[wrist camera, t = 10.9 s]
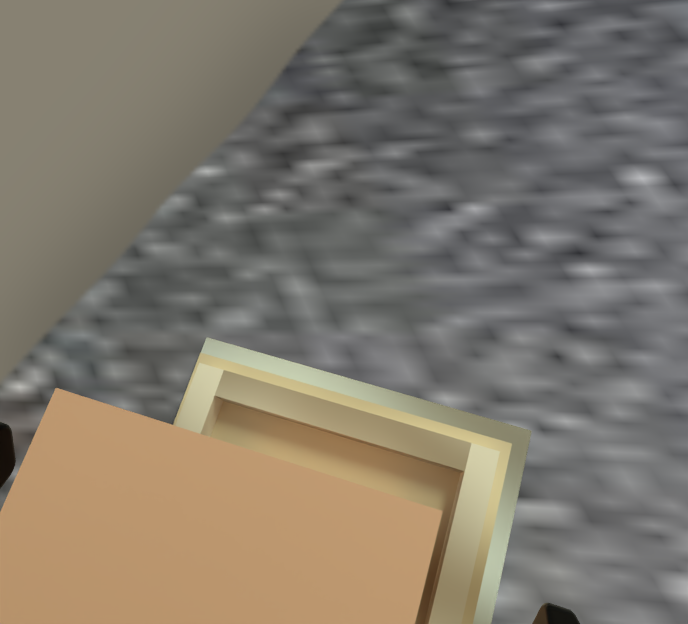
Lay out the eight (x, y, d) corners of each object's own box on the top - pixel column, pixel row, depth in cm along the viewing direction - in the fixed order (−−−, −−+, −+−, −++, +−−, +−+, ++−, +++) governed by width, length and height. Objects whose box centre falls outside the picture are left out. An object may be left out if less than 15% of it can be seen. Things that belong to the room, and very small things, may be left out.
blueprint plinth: (443, 828, 18) (461, 927, 13) (80, 686, 19) (-1, 734, 15) (527, 432, 21) (562, 416, 17) (211, 341, 23) (173, 306, 19)
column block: (357, 694, 16) (306, 1063, 5) (185, 630, 17) (-150, 846, 6) (407, 506, 17) (443, 511, 7) (246, 454, 18) (56, 387, 8)
